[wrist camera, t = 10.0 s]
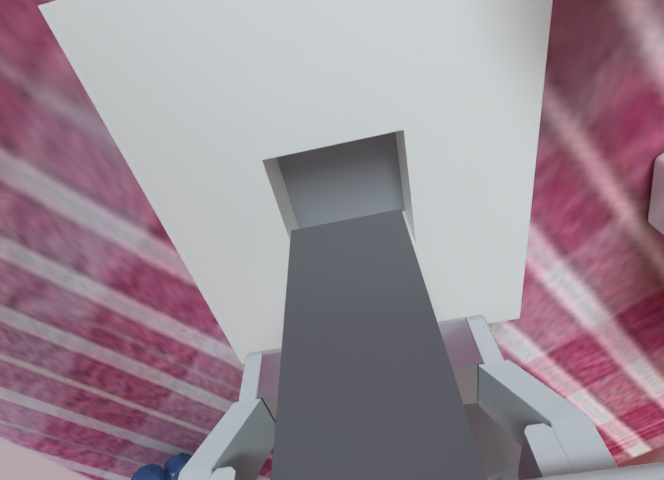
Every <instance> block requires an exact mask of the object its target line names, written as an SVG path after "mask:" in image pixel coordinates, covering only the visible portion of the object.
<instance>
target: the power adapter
mask: <svg viewBox="0 0 664 480" xmlns="http://www.w3.org/2000/svg"><path fill="white" fill-rule="evenodd" d="M464 407H465V410H466V414H467V417H468V420H469V423H470V426H471V429H472V432H473V435H474V439H475V442H476V445H477V448H478V451H479V454H480V457H481V461H482V464H483V467H484V470H485V473H486V476H487V479H488V480H519V477H518V469H519V462H520V456H521V449H522V447H521V446H520V445H519V444H518V443H517V442H516V441H515V440H514V439H513V438H512V437H511V436H510V435H509V434H508V433H507V432H506V431H505V430H504V429H503V428H502V427H501V426H500V425H499V424H498V423H497V422H496V421H495V420H494V419H493V418H492V417H491V416H490V415H489V414H488V413H487V412H485V411H484V410H483V409H482V408H481V407H480V406H479V405H478V403H473V404H465V405H464Z"/></svg>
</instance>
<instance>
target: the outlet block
mask: <svg viewBox="0 0 664 480" xmlns="http://www.w3.org/2000/svg"><path fill="white" fill-rule="evenodd" d="M552 2H553V0H57V1H53V2H49V3H46V4H42V5H38V7H39V9H40V11H41V13H42V14H43V16H44V18H45V20H46V22H47V23H48V25H49V27H50V29H51V30H52V32H53V34H54V36H55V37H56V39H57V41H58V43H59V44H60V46H61V48H62V50H63V51H64V53H65V55H66V57H67V58H68V60H69V62H70V64H71V65H72V67H73V69H74V71H75V72H76V74H77V76H78V78H79V79H80V81H81V83H82V85H83V86H84V88H85V90H86V92H87V93H88V95H89V97H90V99H91V100H92V102H93V104H94V106H95V107H96V109H97V111H98V113H99V115H100V116H101V118H102V120H103V122H104V123H105V125H106V127H107V129H108V130H109V132H110V134H111V136H112V137H113V139H114V141H115V143H116V144H117V146H118V148H119V150H120V151H121V153H122V155H123V157H124V158H125V160H126V162H127V164H128V165H129V167H130V169H131V171H132V172H133V174H134V176H135V178H136V179H137V181H138V183H139V185H140V186H141V188H142V190H143V192H144V193H145V195H146V197H147V199H148V200H149V202H150V204H151V206H152V208H153V209H154V211H155V213H156V215H157V216H158V218H159V220H160V222H161V223H162V225H163V227H164V229H165V230H166V232H167V234H168V236H169V237H170V239H171V241H172V243H173V244H174V246H175V248H176V250H177V251H178V253H179V255H180V257H181V258H182V260H183V262H184V264H185V265H186V267H187V269H188V271H189V272H190V274H191V276H192V278H193V279H194V281H195V283H196V285H197V286H198V288H199V290H200V292H201V293H202V295H203V297H204V299H205V301H206V302H207V304H208V306H209V308H210V309H211V311H212V313H213V315H214V316H215V318H216V320H217V322H218V323H219V325H220V327H221V329H222V330H223V332H224V334H225V336H226V337H227V339H228V341H229V343H230V344H231V346H232V348H233V350H234V351H235V353H236V355H237V357H238V358H239V360H240V362H241V364H245V359H246V357H247V355H248V353H252V352H259V351H265V350H272V349H279V348H282V337H283V324H284V312H285V300H286V287H287V275H288V263H289V250H290V238H291V230H296V229H301V228H306V227H311V226H316V225H321V224H327V223H332V222H337V221H342V220H347V219H352V218H357V217H362V216H367V215H373V214H378V213H383V212H388V211H393V210H398V209H401V210H402V213H403V216H404V219H405V222H406V226H407V229H408V232H409V235H410V238H411V241H412V244H413V248H414V251H415V254H416V257H417V260H418V263H419V266H420V269H421V273H422V276H423V279H424V282H425V285H426V288H427V291H428V295H429V298H430V301H431V304H432V307H433V310H434V313H435V316H436V320H437V322H440V321H445V320H451V319H456V318H462V317H464V318H465V317H470V316H476V315H483V316H484V317H485V319H486V321H487V323H488V324H489V323H495V322H501V321H507V320H513V319H519V318H520V310H521V300H522V291H523V281H524V271H525V262H526V252H527V243H528V233H529V223H530V214H531V204H532V194H533V185H534V175H535V166H536V156H537V146H538V137H539V127H540V117H541V108H542V98H543V89H544V79H545V69H546V60H547V50H548V40H549V31H550V21H551V12H552Z"/></svg>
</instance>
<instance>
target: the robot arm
mask: <svg viewBox="0 0 664 480" xmlns="http://www.w3.org/2000/svg"><path fill="white" fill-rule="evenodd" d="M437 323H438V326H439V329H440V332H441V335H442V338H443V342H444V345H445V348H446V351H447V354H448V357H449V360H450V363H451V367H452V370H453V373H454V376H455V379H456V382H457V385H458V388H459V392H460V395H461V398H462V401H463V404H464V405H465V404H473V403H478V405H479V406H480V407H481V408H482V409H483V410H484V411H485V412H487V413H488V414H489V415H490V416H491V417H492V418H493V419H494V420H495V421H496V422H497V423H498V424H499V425H500V426H501V427H502V428H503V429H504V430H505V431H506V432H507V433H508V434H509V435H510V436H511V437H512V438H513V439H514V440H515V441H516V442H517V443H518V444H519V445H520V446H521V447H522V449H521V456H520V462H519V469H518V477H519V480H664V462H659V463H652V464H643V465H636V466H627V467H619V468H618V466H617V464H616V463H615V461H614V459H613V457H612V456H611V454H610V452H609V450H608V449H607V447H606V445H605V443H604V442H603V440H602V438H601V436H600V435H599V433H598V431H597V429H596V428H595V426H594V424H593V423H592V421H591V419H590V417H589V416H588V415H587V414H585V413H584V412H582V411H581V410H580V409H578V408H577V407H575V406H574V405H573V404H571V403H570V402H568V401H567V400H566V399H564V398H563V397H561V396H560V395H558V394H557V393H556V392H554V391H553V390H551V389H550V388H549V387H547V386H546V385H544V384H543V383H542V382H540V381H539V380H537V379H536V378H534V377H533V376H532V375H530V374H529V373H527V372H526V371H525V370H523V369H522V368H520V367H519V366H518V365H516V364H515V363H513V362H512V361H510V360H506V361H504V358H503V356H502V354H501V352H500V350H499V347H498V345H497V343H496V341H495V339H494V336H493V334H492V332H491V330H490V328H489V326H488V323H487V321H486V319H485V317H484V316H483V315H476V316H470V317H465V318H464V317H462V318H456V319H451V320H445V321H440V322H437ZM281 349H282V348H279V349H272V350H265V351H259V352H252V353H248V355H247V357H246V359H245V365H244V371H243V377H242V383H241V389H240V395H239V401H238V402H235V403H233V404H232V406H231V407H230V408H229V409H228V411H227V412H226V413H225V415H224V416H223V417H222V418H221V420H220V421H219V422H218V424H217V425H216V426H215V427H214V429H213V430H212V431H211V433H210V434H209V435H208V436H207V438H206V439H205V440H204V442H203V443H202V444H201V445H200V447H199V448H198V449H197V451H196V452H195V453H194V454H193V456H192V457H191V458H190V460H189V461H188V462H187V463H186V465H185V466H184V467H183V469H182V470H181V471H180V473H179V477H178V480H256V478H257V476H258V474H259V472H260V471H261V469H262V467H263V465H264V463H265V461H266V460H267V458H268V456H269V454H270V452H271V450H272V449H273V447H274V435H275V423H276V410H277V398H278V386H279V373H280V361H281Z"/></svg>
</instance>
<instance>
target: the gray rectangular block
mask: <svg viewBox="0 0 664 480" xmlns="http://www.w3.org/2000/svg"><path fill="white" fill-rule="evenodd" d="M271 480H488V479H487V476H486V473H485V470H484V467H483V464H482V461H481V457H480V454H479V451H478V448H477V445H476V442H475V439H474V435H473V432H472V429H471V426H470V423H469V420H468V417H467V414H466V410H465V407H464V404H463V401H462V398H461V395H460V392H459V388H458V385H457V382H456V379H455V376H454V373H453V370H452V367H451V363H450V360H449V357H448V354H447V351H446V348H445V345H444V342H443V338H442V335H441V332H440V329H439V326H438V323H437V320H436V316H435V313H434V310H433V307H432V304H431V301H430V298H429V295H428V291H427V288H426V285H425V282H424V279H423V276H422V273H421V269H420V266H419V263H418V260H417V257H416V254H415V251H414V248H413V244H412V241H411V238H410V235H409V232H408V229H407V226H406V222H405V219H404V216H403V213H402V210H401V209H398V210H393V211H388V212H383V213H378V214H373V215H367V216H362V217H357V218H352V219H347V220H342V221H337V222H332V223H327V224H321V225H316V226H311V227H306V228H301V229H296V230H291V238H290V250H289V263H288V275H287V287H286V300H285V312H284V324H283V337H282V349H281V361H280V373H279V386H278V398H277V410H276V423H275V435H274V447H273V460H272V472H271Z"/></svg>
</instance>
